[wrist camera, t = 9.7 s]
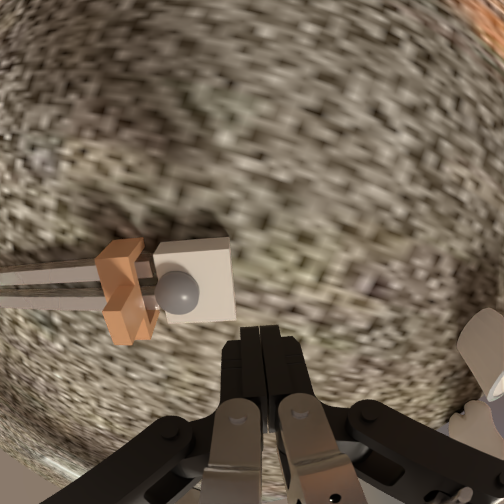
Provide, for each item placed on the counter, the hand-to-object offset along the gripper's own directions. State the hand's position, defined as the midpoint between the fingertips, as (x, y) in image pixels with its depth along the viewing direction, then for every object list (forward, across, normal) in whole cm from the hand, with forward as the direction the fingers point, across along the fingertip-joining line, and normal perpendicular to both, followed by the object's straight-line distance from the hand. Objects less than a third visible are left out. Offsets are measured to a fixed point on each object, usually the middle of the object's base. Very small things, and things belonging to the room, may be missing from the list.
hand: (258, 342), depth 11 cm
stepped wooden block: (+6, +7, 0) cm, 10 cm away
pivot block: (+6, +4, 0) cm, 8 cm away
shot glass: (+7, -22, +9) cm, 25 cm away
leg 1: (+6, +15, -1) cm, 16 cm away
